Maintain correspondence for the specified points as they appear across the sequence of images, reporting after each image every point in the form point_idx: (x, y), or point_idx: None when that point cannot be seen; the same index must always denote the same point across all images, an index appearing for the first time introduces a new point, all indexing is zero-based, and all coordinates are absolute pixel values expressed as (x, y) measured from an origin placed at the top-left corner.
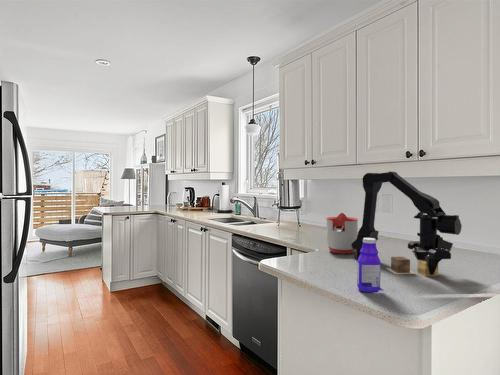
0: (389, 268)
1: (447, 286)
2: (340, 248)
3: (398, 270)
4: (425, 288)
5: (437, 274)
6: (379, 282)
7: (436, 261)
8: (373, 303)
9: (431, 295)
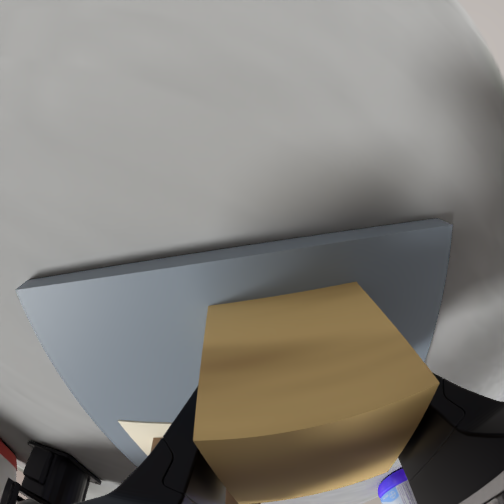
0: None
1: (475, 272)
2: (12, 468)
3: None
4: (454, 377)
5: (363, 297)
6: None
7: (479, 425)
8: None
9: (495, 364)
